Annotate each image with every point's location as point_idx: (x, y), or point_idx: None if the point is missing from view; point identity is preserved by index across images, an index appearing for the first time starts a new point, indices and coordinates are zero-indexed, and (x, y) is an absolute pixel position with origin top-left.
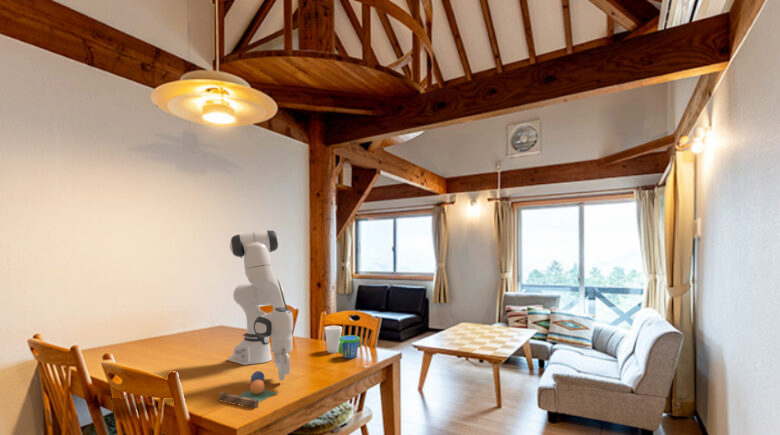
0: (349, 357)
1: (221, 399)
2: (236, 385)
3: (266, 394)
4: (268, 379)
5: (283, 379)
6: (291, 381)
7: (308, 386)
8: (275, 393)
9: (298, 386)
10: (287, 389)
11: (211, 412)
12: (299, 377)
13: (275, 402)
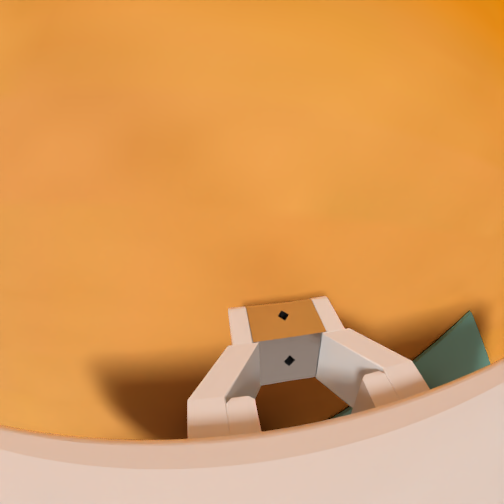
0: None
1: None
2: None
3: (451, 366)
4: (103, 383)
5: (327, 303)
6: (240, 164)
7: (478, 32)
8: (474, 321)
9: (448, 119)
10: (459, 237)
11: None
12: (96, 41)
13: None
